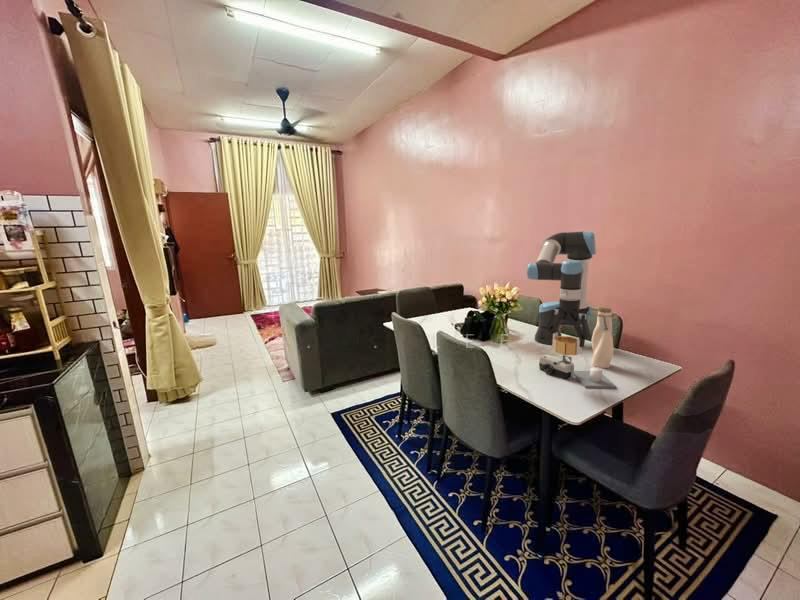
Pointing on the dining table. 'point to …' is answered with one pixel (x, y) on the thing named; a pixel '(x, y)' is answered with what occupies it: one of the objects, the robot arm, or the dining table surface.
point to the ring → (565, 345)
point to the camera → (557, 366)
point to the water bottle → (603, 339)
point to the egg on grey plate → (593, 379)
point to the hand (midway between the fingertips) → (566, 350)
